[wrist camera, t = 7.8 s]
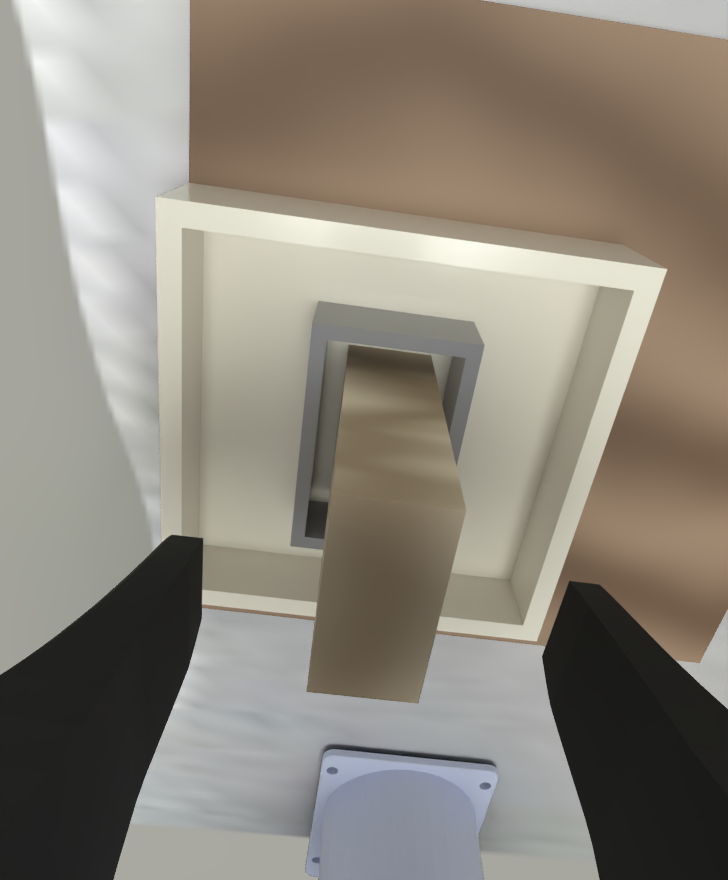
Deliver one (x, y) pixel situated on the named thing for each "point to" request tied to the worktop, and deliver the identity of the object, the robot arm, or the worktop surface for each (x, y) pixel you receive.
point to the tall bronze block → (386, 530)
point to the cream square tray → (394, 328)
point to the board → (522, 217)
